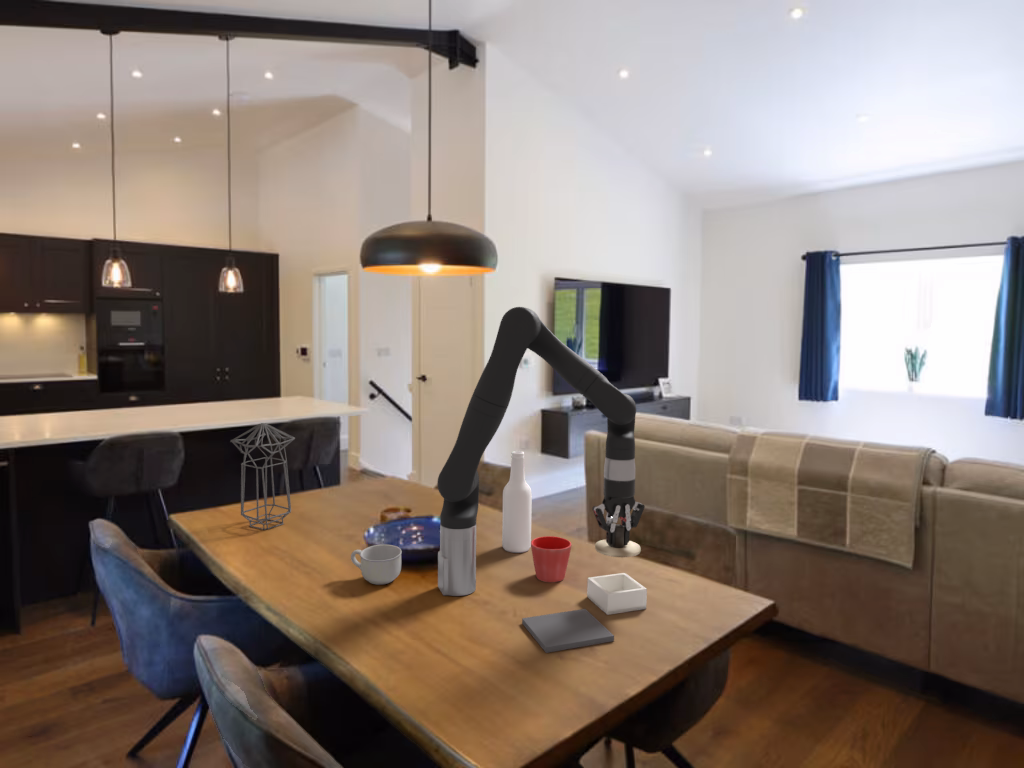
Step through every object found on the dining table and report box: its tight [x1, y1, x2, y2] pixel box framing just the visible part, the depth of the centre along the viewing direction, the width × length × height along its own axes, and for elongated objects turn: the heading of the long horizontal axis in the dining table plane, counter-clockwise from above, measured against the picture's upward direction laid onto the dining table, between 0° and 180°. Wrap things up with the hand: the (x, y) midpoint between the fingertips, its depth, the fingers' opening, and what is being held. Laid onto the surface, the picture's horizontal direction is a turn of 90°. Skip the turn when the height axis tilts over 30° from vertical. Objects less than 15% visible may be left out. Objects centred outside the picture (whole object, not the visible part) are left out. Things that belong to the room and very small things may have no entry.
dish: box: [586, 572, 648, 616], centre depth 157 cm, size 11×11×5 cm
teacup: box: [350, 544, 403, 586], centre depth 169 cm, size 14×11×8 cm
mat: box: [521, 608, 615, 654], centre depth 141 cm, size 16×14×1 cm
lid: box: [594, 523, 642, 558], centre depth 156 cm, size 11×11×6 cm
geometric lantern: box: [229, 422, 296, 531], centre depth 212 cm, size 16×16×35 cm
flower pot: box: [530, 535, 572, 583], centre depth 172 cm, size 11×11×10 cm
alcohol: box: [501, 450, 533, 554], centre depth 194 cm, size 9×9×30 cm
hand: (617, 544), depth 156 cm, fingers closed on lid, 3 cm apart
